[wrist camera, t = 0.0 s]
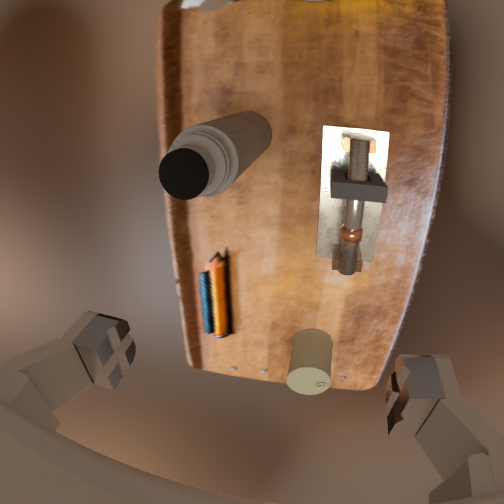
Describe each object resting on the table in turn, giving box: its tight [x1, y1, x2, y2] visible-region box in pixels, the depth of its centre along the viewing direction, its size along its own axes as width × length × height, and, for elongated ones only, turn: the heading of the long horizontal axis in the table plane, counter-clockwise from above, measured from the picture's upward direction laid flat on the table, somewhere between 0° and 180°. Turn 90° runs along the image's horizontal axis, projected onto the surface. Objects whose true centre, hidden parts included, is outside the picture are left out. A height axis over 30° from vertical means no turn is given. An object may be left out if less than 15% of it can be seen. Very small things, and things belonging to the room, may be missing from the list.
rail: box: [316, 125, 389, 275], centre depth 50 cm, size 24×11×8 cm, turn 1°
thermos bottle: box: [159, 112, 272, 200], centre depth 40 cm, size 8×8×28 cm
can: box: [286, 329, 333, 395], centre depth 66 cm, size 9×9×12 cm
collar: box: [330, 169, 388, 203], centre depth 46 cm, size 2×8×8 cm, turn 91°
